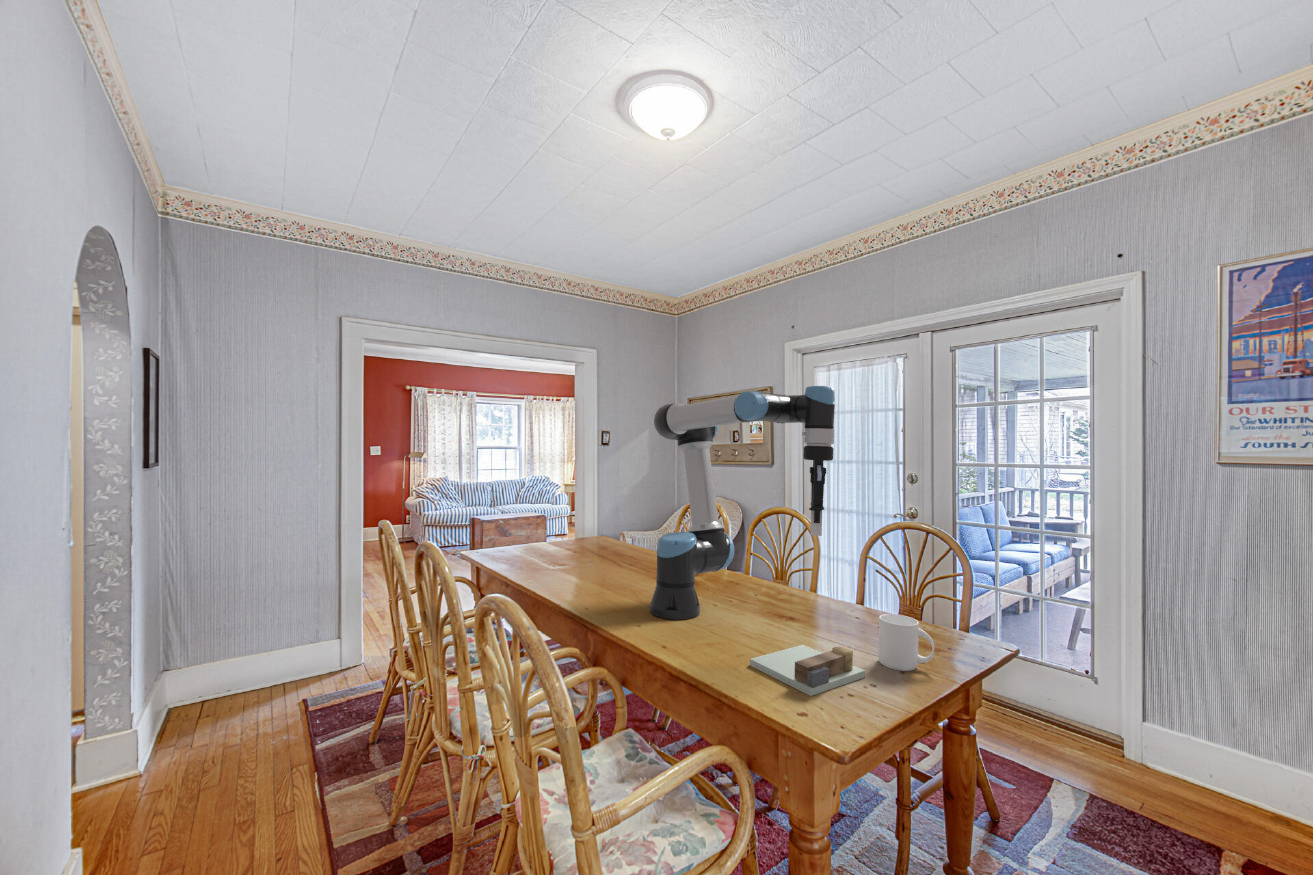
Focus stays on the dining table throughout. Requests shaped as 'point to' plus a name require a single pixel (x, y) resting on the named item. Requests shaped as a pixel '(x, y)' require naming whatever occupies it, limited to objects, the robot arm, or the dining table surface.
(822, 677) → the block
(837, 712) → the dining table surface
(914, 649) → the mug
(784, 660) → the seat board
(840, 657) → the leg
